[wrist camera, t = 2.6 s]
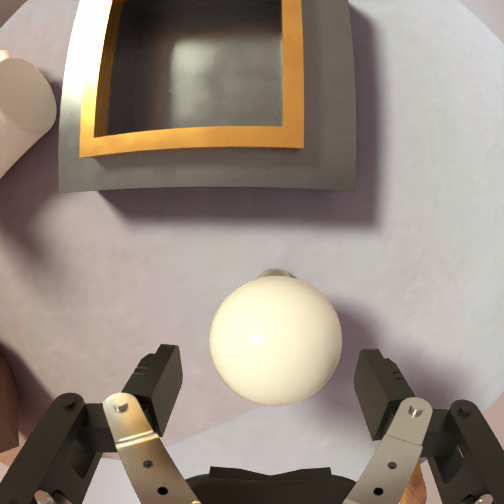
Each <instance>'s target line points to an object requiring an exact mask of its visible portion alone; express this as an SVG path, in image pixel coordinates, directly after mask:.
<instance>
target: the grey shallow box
mask: <svg viewBox="0 0 504 504" xmlns="http://www.w3.org/2000/svg"><path fill="white" fill-rule="evenodd" d="M355 176H356V86H355V67H354V52H353V40H352V29H351V20H350V11H349V3H348V0H80V4H79V7H78V11H77V15H76V19H75V23H74V27H73V31H72V36H71V40H70V45H69V50H68V56H67V61H66V67H65V74H64V81H63V89H62V98H61V108H60V121H59V141H58V186H59V194H60V193H71V192H83V191H97V190H113V189H132V188H157V187H275V188H301V189H320V190H337V191H351V192H355Z"/></svg>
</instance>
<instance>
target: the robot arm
mask: <svg viewBox="0 0 504 504" xmlns="http://www.w3.org/2000/svg"><path fill="white" fill-rule="evenodd" d="M182 378H183V374H182V366H181V359H180V351H179V347H178V346H177V345H167V344H161V345H160V346H159V348H158V350H157V352H156V353H155V354H151V353H150V354H148V355H147V356H145V357H144V358H142V359H141V361H140V362H139V364H138V366H137V368H136V369H135V370H134V373H133V374H132V375H131V377H130V379H129V380H128V382H127V384H126V385H125V387H124V388H123V390H122V392H121V393H116V394H113V395H111V396H109V397H108V398H106V400H105V401H104V403H99V404H86V403H85V402H84V400H83V398H82V397H81V396H80V395H78V394H76V393H65V394H62V395H60V396H58V397H57V398H56V399H55V400H54V402H53V403H52V404H51V406H50V407H49V409H48V410H47V411H46V413H45V414H44V416H43V417H42V419H41V420H40V422H39V423H38V425H37V426H36V427H35V429H34V430H33V432H32V433H31V435H30V436H29V438H28V439H27V441H26V443H25V444H24V446H23V447H22V449H21V450H20V452H19V453H18V455H17V457H16V458H15V460H14V461H13V463H12V465H11V466H10V468H9V470H8V471H7V473H6V475H5V476H4V478H3V480H2V481H1V483H0V504H82V502H83V500H84V497H85V494H86V492H87V489H88V487H89V485H90V482H91V480H92V477H93V475H94V473H95V470H96V468H97V465H98V463H99V461H100V458H101V456H102V454H103V452H118V454H119V456H120V458H121V461H122V463H123V466H124V468H125V470H126V473H127V475H128V477H129V479H130V482H131V484H132V486H133V488H134V490H135V492H136V494H137V496H138V498H139V500H140V502H141V504H398V503H399V501H400V499H401V497H402V495H403V493H404V491H405V489H406V487H407V485H408V483H409V480H410V478H411V476H412V473H413V471H414V469H415V466H416V464H417V461H418V459H419V457H427V460H428V463H429V465H430V468H431V471H432V474H433V477H434V479H435V482H436V485H437V488H438V491H439V494H440V497H441V500H442V503H443V504H504V450H503V449H502V447H501V445H500V443H499V442H498V440H497V438H496V437H495V435H494V433H493V432H492V430H491V428H490V427H489V425H488V423H487V422H486V420H485V419H484V417H483V415H482V414H481V412H480V411H479V409H478V407H477V406H476V405H475V404H474V403H472V402H470V401H468V400H457V401H455V402H453V403H452V405H451V407H450V409H449V410H444V409H432V407H431V405H430V404H429V403H428V402H427V401H426V400H424V399H421V398H417V397H415V395H414V394H413V392H412V390H411V388H410V387H409V385H408V383H407V382H406V380H405V379H404V376H403V375H402V373H400V370H399V368H398V366H397V365H396V364H395V363H394V362H393V361H391V360H390V359H389V358H386V359H384V358H383V356H382V354H381V352H380V351H379V349H362V350H361V351H360V354H359V359H358V363H357V367H356V372H355V376H354V389H355V392H356V395H357V397H358V400H359V403H360V406H361V409H362V412H363V414H364V417H365V420H366V423H367V426H368V429H369V432H370V435H371V438H372V441H375V440H381V439H382V441H381V443H380V444H379V446H378V448H377V450H376V452H375V453H374V455H373V457H372V458H371V460H370V462H369V463H368V465H367V467H366V468H365V470H364V472H363V473H362V475H361V476H360V478H359V480H358V481H357V482H355V481H353V480H351V479H348V478H345V477H342V476H337V475H331V469H330V467H326V468H313V469H300V470H296V471H291V472H287V473H282V474H278V475H265V474H260V473H256V472H251V471H247V470H243V469H236V468H223V467H212V466H211V467H210V472H209V474H203V475H198V476H194V477H191V478H188V479H186V480H184V478H183V477H182V475H181V473H180V472H179V470H178V469H177V467H176V466H175V464H174V462H173V461H172V459H171V457H170V456H169V454H168V452H167V451H166V449H165V447H164V446H163V444H162V442H161V440H160V438H159V437H162V436H163V434H164V431H165V428H166V426H167V423H168V420H169V417H170V415H171V412H172V409H173V407H174V404H175V401H176V399H177V396H178V393H179V391H180V388H181V385H182ZM458 448H459V449H460V451H461V453H462V455H463V457H462V455H461V453H460V451H459V449H458Z"/></svg>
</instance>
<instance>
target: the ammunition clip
mask: <svg viewBox="0 0 504 504" xmlns="http://www.w3.org/2000/svg"><path fill="white" fill-rule="evenodd" d="M422 476H423V475H422V472H421V469H420V462H419V459H418V461H417V464H416V466H415V469H414V471H413V473H412V476H411V478H410V480H409V483H408V485H407V487H406V489H405V491H404V493H403V495H402V497H401V499H400V504H425V503H426V487H425V482H424V479H423V477H422Z"/></svg>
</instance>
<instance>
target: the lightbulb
mask: <svg viewBox="0 0 504 504" xmlns="http://www.w3.org/2000/svg"><path fill="white" fill-rule="evenodd" d="M209 348H210V355H211V359H212V362H213V365H214V367H215V370H216V372H217V373H218V375H219V377H220V378H221V380H222V381H223V382H224V383H225V385H226V386H227V387H228V388H229V389H230V390H232V391H233V392H234V393H235V394H237V395H238V396H240V397H242V398H243V399H245V400H247V401H250V402H252V403H255V404H259V405H264V406H286V405H291V404H295V403H298V402H300V401H303V400H305V399H307V398H309V397H310V396H312V395H313V394H315V393H316V392H318V391H319V390H320V389H321V388H322V387H323V386H324V385H325V384H326V383H327V382H328V380H329V379H330V378H331V376H332V375H333V373H334V371H335V369H336V367H337V365H338V362H339V359H340V356H341V351H342V330H341V325H340V321H339V318H338V316H337V313H336V311H335V310H334V308H333V306H332V305H331V303H330V302H329V301H328V299H327V298H326V297H325V296H324V295H323V294H322V293H321V292H320V291H319V290H317V289H316V288H315V287H313V286H311V285H310V284H308V283H306V282H304V281H301V280H299V279H296V278H292V277H291V276H290V275H289V274H288V273H287V272H285V271H283V270H281V269H269V270H267V271H265V272H263V273H262V274H261V275H260V276H259V277H258V278H257V279H254V280H252V281H249V282H247V283H245V284H243V285H241V286H240V287H238V288H237V289H236V290H234V291H233V292H232V293H231V294H230V295H229V296H228V297H227V298H226V299H225V300H224V301H223V303H222V304H221V305H220V307H219V308H218V310H217V312H216V314H215V316H214V319H213V322H212V325H211V329H210V336H209Z"/></svg>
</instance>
